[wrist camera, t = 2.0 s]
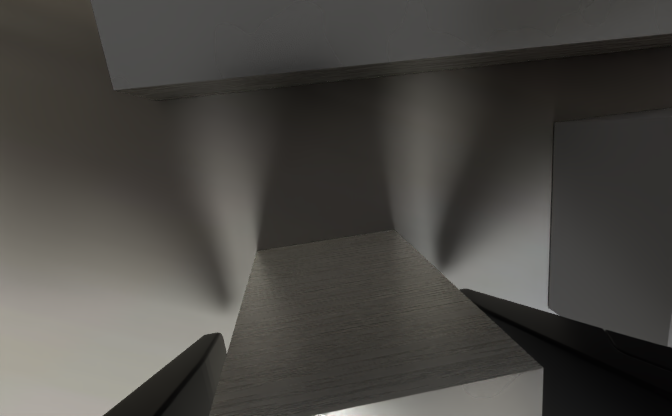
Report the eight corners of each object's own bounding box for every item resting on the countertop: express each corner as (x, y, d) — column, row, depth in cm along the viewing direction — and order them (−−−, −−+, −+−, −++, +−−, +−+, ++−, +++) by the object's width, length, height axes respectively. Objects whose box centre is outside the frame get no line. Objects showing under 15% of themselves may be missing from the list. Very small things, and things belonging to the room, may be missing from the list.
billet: (394, 229, 10) (543, 367, 4) (403, 347, 11) (536, 599, 5) (256, 250, 9) (201, 439, 4) (278, 371, 10) (263, 677, 5)
